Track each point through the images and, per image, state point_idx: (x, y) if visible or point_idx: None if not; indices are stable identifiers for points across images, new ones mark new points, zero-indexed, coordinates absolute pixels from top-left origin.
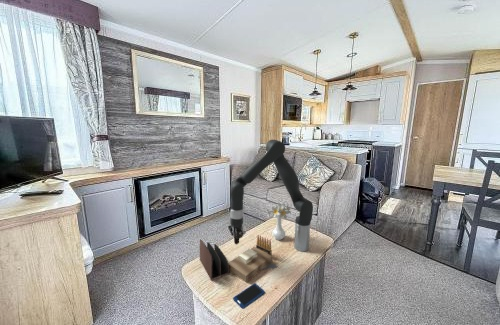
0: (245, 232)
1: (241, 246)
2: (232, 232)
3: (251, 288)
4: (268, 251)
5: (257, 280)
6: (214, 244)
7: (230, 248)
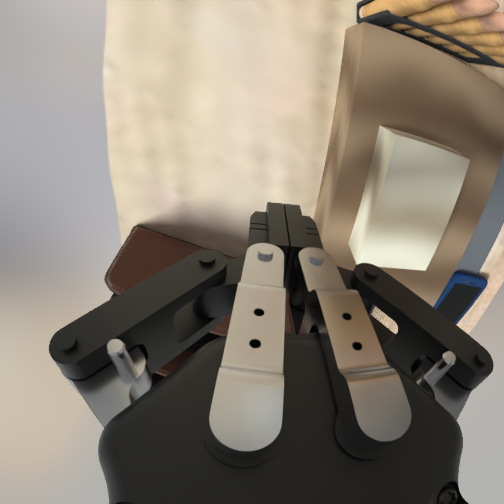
0: (489, 364)
1: (196, 24)
2: (198, 333)
3: (449, 299)
4: (493, 63)
5: None
6: (111, 287)
7: (146, 106)
